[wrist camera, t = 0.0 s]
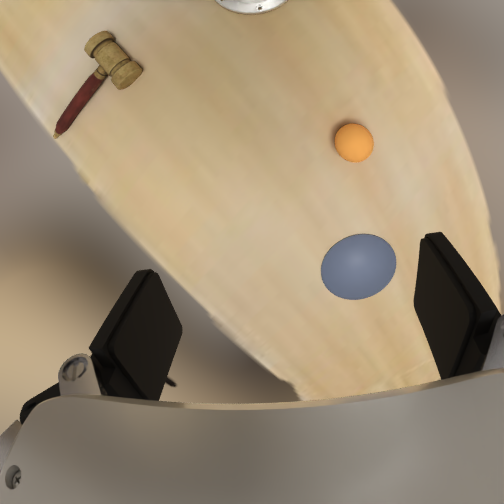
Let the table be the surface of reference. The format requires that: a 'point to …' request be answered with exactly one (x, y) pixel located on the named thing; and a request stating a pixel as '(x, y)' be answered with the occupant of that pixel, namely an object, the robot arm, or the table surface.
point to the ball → (354, 142)
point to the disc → (358, 266)
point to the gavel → (100, 75)
